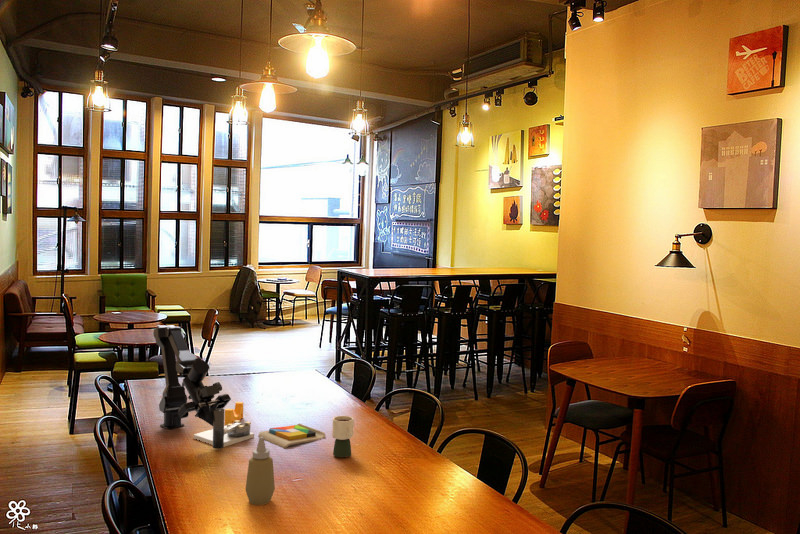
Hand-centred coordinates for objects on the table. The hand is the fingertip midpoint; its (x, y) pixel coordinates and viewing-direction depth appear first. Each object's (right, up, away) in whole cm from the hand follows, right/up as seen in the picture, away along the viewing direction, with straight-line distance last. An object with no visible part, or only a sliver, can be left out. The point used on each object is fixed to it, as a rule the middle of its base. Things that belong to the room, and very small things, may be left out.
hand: (215, 426), depth 214 cm
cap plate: (0, -7, +12) cm, 14 cm away
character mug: (+44, -10, -3) cm, 45 cm away
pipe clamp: (-3, -7, +31) cm, 32 cm away
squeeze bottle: (+24, -11, -41) cm, 48 cm away
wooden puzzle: (+24, -9, +15) cm, 29 cm away
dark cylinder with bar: (+3, -7, +6) cm, 10 cm away
